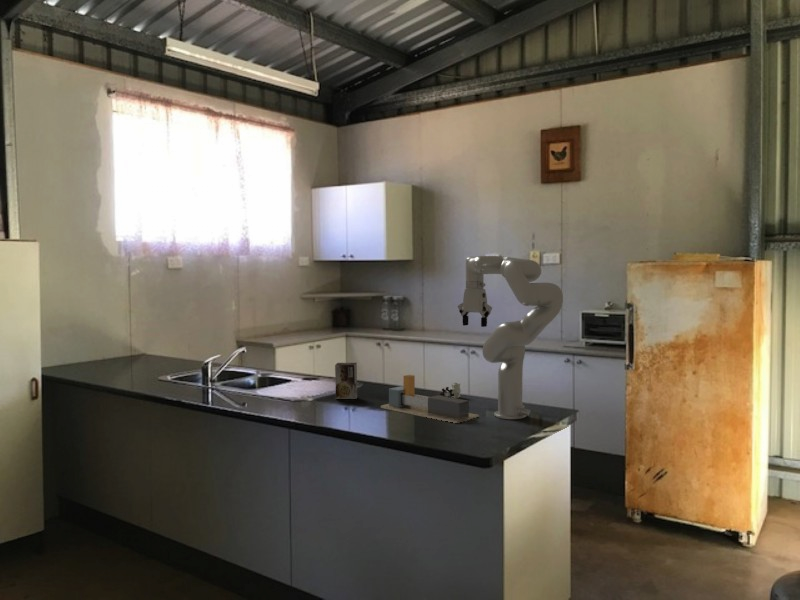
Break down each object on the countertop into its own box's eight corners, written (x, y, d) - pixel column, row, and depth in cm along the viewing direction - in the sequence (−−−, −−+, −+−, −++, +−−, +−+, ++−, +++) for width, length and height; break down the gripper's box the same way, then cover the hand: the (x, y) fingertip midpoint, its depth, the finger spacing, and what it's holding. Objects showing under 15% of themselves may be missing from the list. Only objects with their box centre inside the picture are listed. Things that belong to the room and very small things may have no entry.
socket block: (411, 403, 274) (411, 387, 274) (398, 407, 269) (398, 390, 268) (401, 402, 278) (401, 386, 278) (389, 405, 272) (388, 388, 272)
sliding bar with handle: (443, 409, 259) (443, 379, 259) (437, 410, 257) (436, 381, 256) (402, 401, 275) (401, 373, 275) (395, 402, 272) (395, 374, 272)
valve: (451, 396, 295) (440, 401, 285) (451, 382, 295) (440, 386, 284) (464, 397, 292) (453, 402, 281) (464, 383, 292) (453, 387, 281)
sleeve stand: (478, 417, 254) (478, 399, 253) (456, 423, 243) (456, 405, 243) (403, 402, 282) (403, 386, 281) (380, 407, 272) (380, 391, 271)
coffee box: (357, 397, 294) (357, 362, 293) (355, 400, 287) (354, 364, 286) (338, 397, 294) (337, 362, 294) (335, 400, 288) (334, 364, 287)
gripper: (496, 285, 269) (496, 326, 270) (463, 285, 281) (463, 324, 282) (486, 286, 263) (486, 327, 264) (453, 285, 275) (453, 325, 276)
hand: (474, 325), depth 273 cm, fingers open, 9 cm apart
